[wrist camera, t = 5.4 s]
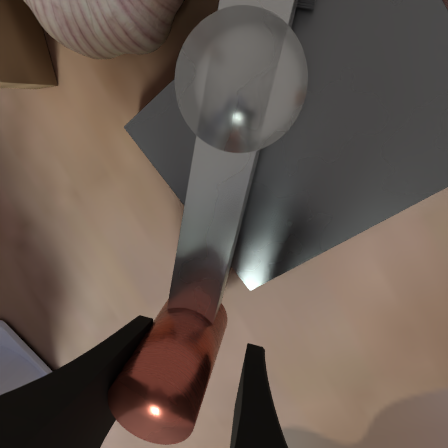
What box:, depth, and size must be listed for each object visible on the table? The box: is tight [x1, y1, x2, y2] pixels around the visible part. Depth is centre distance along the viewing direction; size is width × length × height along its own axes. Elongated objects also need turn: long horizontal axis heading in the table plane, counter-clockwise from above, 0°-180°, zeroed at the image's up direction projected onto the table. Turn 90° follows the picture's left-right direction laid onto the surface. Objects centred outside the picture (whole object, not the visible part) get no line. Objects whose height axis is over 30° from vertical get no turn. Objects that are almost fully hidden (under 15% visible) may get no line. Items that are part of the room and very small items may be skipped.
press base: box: [124, 0, 448, 291], centre depth 12 cm, size 11×9×2 cm
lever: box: [108, 0, 316, 445], centre depth 10 cm, size 16×4×6 cm, turn 168°
